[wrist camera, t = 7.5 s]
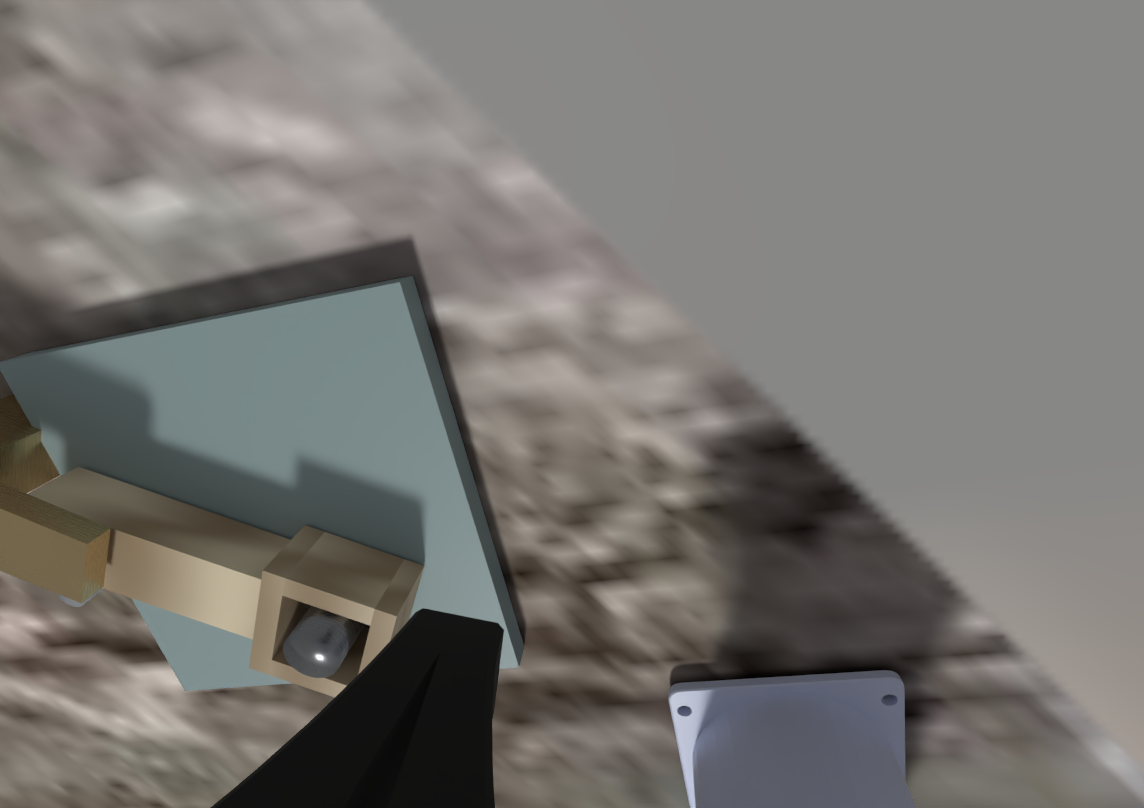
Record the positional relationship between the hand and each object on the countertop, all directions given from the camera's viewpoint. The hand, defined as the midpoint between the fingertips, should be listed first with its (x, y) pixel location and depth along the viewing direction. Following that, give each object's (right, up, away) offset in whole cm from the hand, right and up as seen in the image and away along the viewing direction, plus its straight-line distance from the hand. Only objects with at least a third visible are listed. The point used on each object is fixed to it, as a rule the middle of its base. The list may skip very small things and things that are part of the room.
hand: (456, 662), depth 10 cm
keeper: (-15, +2, +12) cm, 19 cm away
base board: (-8, 0, +12) cm, 14 cm away
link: (-10, -1, +11) cm, 15 cm away
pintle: (-6, -2, +12) cm, 14 cm away
